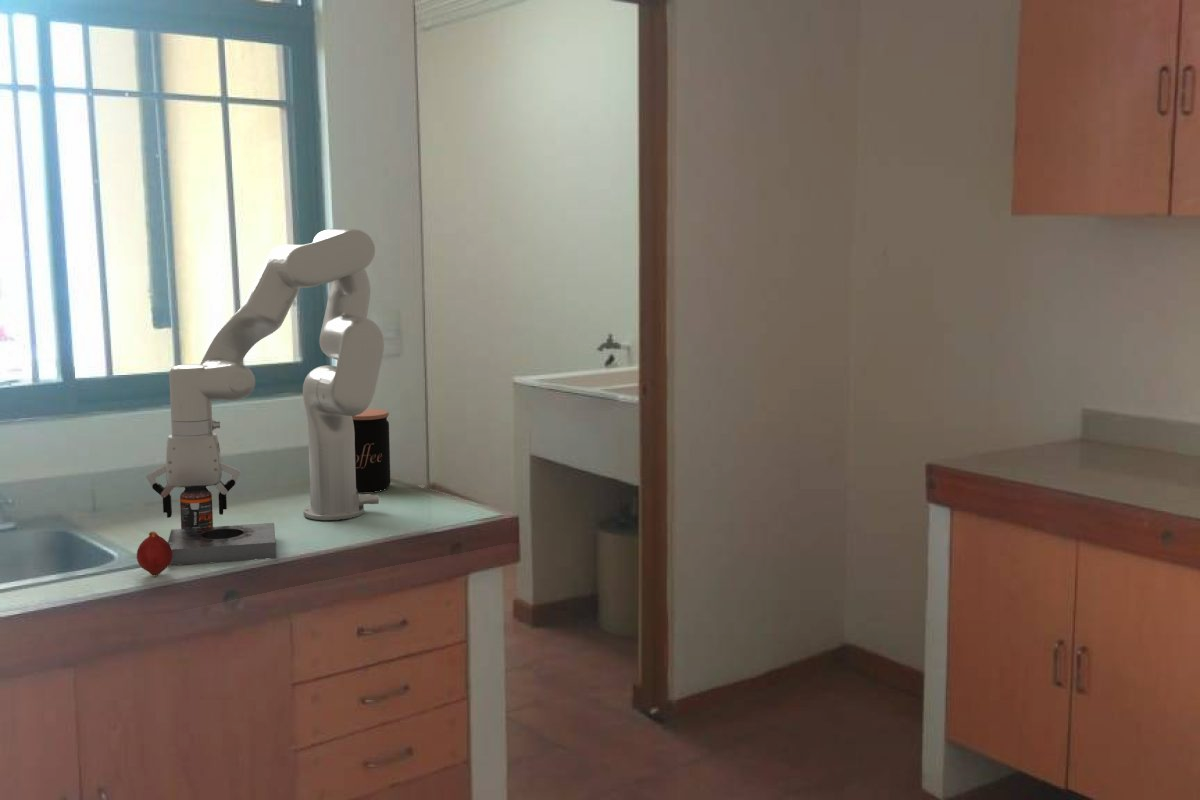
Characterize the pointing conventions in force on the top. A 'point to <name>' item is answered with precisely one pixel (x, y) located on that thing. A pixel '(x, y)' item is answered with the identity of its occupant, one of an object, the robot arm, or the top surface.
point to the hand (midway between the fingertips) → (195, 514)
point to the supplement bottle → (196, 507)
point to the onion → (154, 554)
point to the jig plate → (222, 543)
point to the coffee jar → (372, 450)
